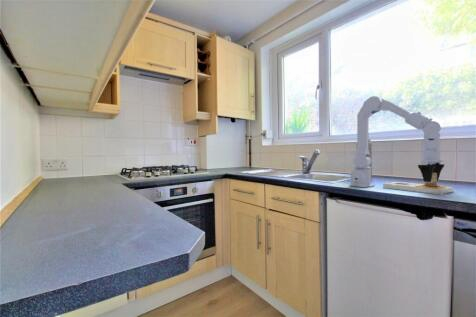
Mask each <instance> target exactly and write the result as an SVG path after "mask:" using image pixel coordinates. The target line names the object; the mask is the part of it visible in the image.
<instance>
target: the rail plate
mask: <svg viewBox="0 0 476 317" xmlns="http://www.w3.org/2000/svg"><path fill="white" fill-rule="evenodd" d="M382 186H383V188H384V189H390V190H397V191H398V190H400V191H408V192H417V193H423V194H424V193H425V194H431V195H432V194H434V195H440V196H441V195H446V194H449V193H453V192H454V187H453V186H447V185H438V184H437V187H428V186H425V183H416V182H415V183H414V182H404V181H403V182H402V181H392V182H385V183H384V182H383V183H382Z"/></svg>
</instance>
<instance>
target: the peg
mask: <svg viewBox="0 0 476 317" xmlns="http://www.w3.org/2000/svg"><path fill="white" fill-rule="evenodd" d="M424 184H425V186H428V187H437V185H438V181H437V173H432V179H431V182H424Z"/></svg>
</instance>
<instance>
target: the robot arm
mask: <svg viewBox="0 0 476 317" xmlns="http://www.w3.org/2000/svg"><path fill="white" fill-rule="evenodd" d="M380 111H383V112H385V111H389V112H391V113H393V114H395V115H397V116H399V117H401V118H403V119H404V121H405V124H407V125H409V126H411V127H413V128H415V129H417V130H418V131H421V130H422V132H423V139H422V159H421V160H420V164H417V167H418V169H419V171H420V174H421V177H422V179H423V181H424V183H425V182H431V179H432V173H437V182H438V181H439V178H440V175H441V172H442V171H443V169H444V167H445V164H444V163H443V164H442V162H444V159H441V129H442V127H441V125H440V123H439V122H437V121H434V120H433V118H432V117H430V118H429V117H427V116H425V115H423V114H422V112H420V111H411V112H410V111H408V110H406V109H404V108H402V107H400V106H399V105H397V104H395V103H393V102H391V101H390V100H387V99H384V98H380V97H379V96H376V95H372V96H370V97H368V98H367V99H366V100H365V101H363V104H362V106H361V108H360V110H359V111H358V113H357V116H356V119H357V120H356V122H357V124H356V125H357V126H356V127H357V128H356V131H357V133H356V138H357V139H356V152H355V157H354V159H353V164H354V169H353V170H352V171H350V183H349V186H351V187H358V188H369V187H374V186H375V184H371V169H370V168H371V167H370V166H369V165H370V164H371V158H370V156H369V150H368V136H369V135H368V134H369V122H370V121H369V119H370V118H371V117H372V116H373V115H374V114H376V113H379V112H380ZM432 120H433V121H432Z"/></svg>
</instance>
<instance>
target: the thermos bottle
mask: <svg viewBox="0 0 476 317" xmlns="http://www.w3.org/2000/svg"><path fill="white" fill-rule="evenodd" d="M369 135H370V134H369V133H368V150H369V156H370V158H371V164H370V165H369V166H370V167H371V168H370V169H371V180H372V178H373V176H372V174H373V172H372V171H373V166H372V165H373V164H372V163H373V156H372V154H373V152H372V150H373V149H372V148H373V143H372V142H371V138H370V136H369Z"/></svg>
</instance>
